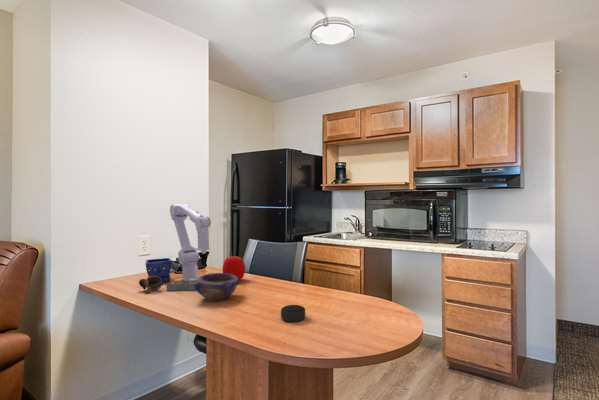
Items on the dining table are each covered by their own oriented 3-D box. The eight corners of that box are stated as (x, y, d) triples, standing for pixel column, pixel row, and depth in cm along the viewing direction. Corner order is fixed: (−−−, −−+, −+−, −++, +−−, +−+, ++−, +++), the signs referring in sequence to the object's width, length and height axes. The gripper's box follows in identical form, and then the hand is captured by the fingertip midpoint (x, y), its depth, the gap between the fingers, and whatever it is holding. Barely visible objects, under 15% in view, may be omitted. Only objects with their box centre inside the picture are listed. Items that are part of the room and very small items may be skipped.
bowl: (228, 305, 143) (228, 281, 143) (189, 303, 146) (188, 280, 146) (244, 293, 160) (243, 272, 160) (208, 292, 164) (208, 271, 164)
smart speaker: (291, 313, 131) (291, 302, 131) (310, 317, 125) (310, 306, 125) (276, 319, 124) (275, 308, 124) (294, 325, 118) (294, 313, 118)
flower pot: (145, 280, 194) (145, 259, 194) (170, 277, 200) (170, 257, 200) (146, 285, 182) (145, 262, 182) (172, 282, 188) (172, 260, 188)
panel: (173, 286, 177) (173, 280, 177) (219, 286, 176) (218, 280, 176) (166, 290, 169) (166, 284, 169) (214, 290, 168) (214, 284, 168)
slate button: (190, 286, 175) (190, 278, 175) (199, 286, 174) (198, 278, 174) (187, 289, 170) (187, 280, 170) (196, 289, 170) (195, 280, 170)
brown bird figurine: (165, 288, 176) (166, 276, 172) (157, 301, 168) (158, 288, 164) (142, 283, 175) (142, 271, 172) (133, 296, 167) (133, 283, 163)
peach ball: (177, 287, 175) (177, 278, 175) (185, 286, 175) (185, 278, 175) (173, 289, 171) (173, 280, 171) (182, 289, 170) (182, 280, 170)
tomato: (218, 282, 183) (217, 256, 183) (228, 278, 194) (228, 253, 194) (239, 283, 179) (238, 256, 179) (249, 278, 190) (248, 253, 190)
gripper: (195, 238, 186) (196, 263, 186) (195, 241, 172) (196, 268, 172) (208, 238, 188) (209, 262, 188) (209, 240, 174) (210, 267, 174)
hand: (204, 265), depth 180 cm, fingers closed
